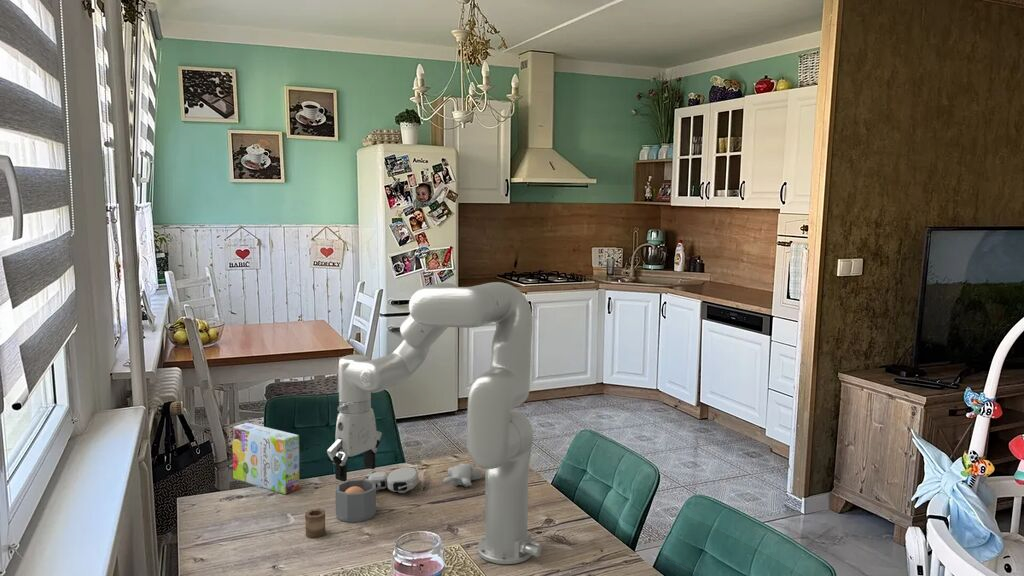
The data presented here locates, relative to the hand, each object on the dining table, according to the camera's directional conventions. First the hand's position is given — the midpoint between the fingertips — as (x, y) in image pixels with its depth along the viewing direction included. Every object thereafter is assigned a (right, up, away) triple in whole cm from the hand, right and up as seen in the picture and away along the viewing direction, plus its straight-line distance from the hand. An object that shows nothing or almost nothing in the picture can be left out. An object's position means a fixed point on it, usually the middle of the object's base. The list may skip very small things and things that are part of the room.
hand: (355, 473), depth 175 cm
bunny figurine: (+25, -9, +22) cm, 34 cm away
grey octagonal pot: (0, -10, +1) cm, 10 cm away
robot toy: (+6, -9, +17) cm, 20 cm away
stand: (-7, -11, -10) cm, 17 cm away
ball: (0, -6, 0) cm, 6 cm away
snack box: (-29, -8, +19) cm, 36 cm away
